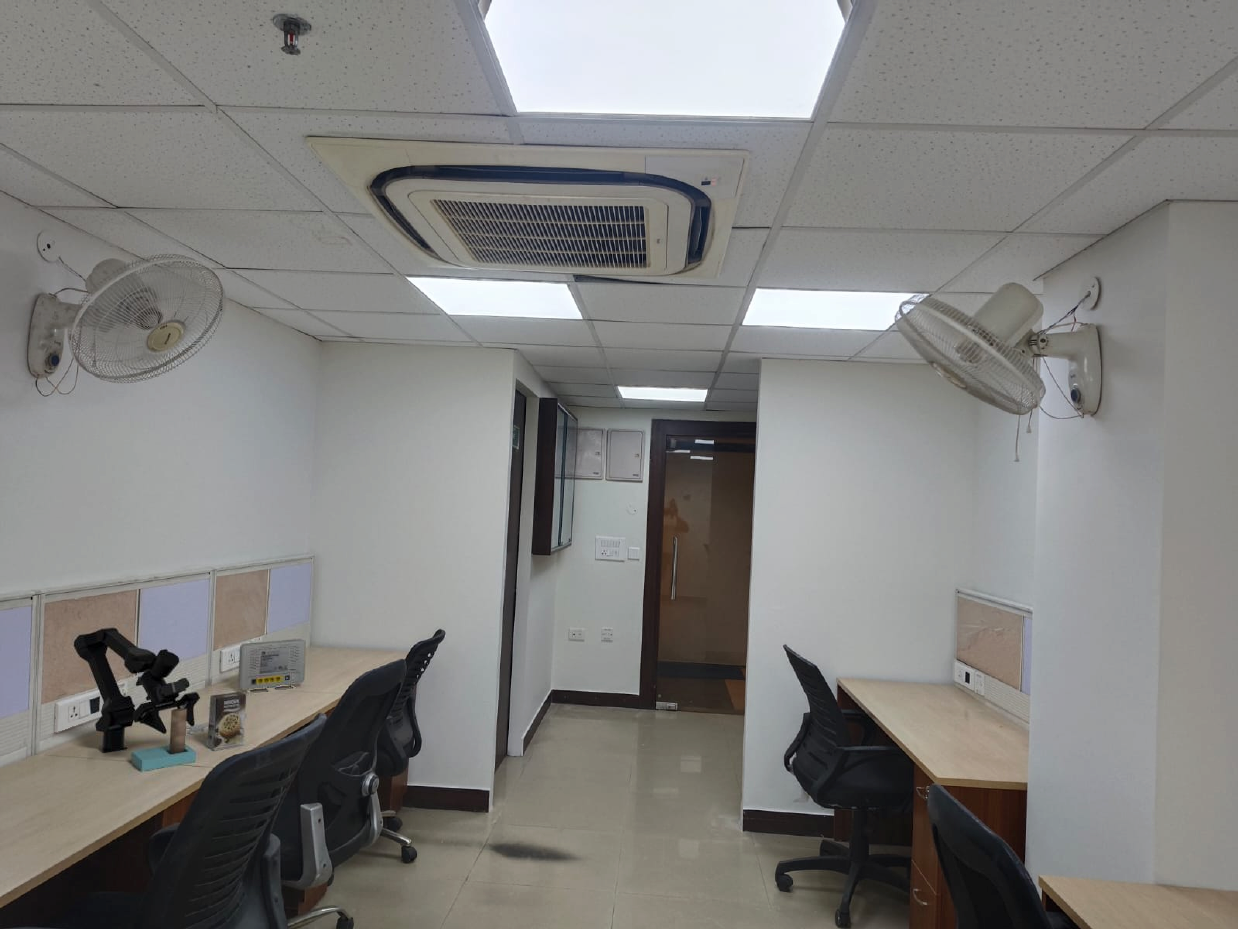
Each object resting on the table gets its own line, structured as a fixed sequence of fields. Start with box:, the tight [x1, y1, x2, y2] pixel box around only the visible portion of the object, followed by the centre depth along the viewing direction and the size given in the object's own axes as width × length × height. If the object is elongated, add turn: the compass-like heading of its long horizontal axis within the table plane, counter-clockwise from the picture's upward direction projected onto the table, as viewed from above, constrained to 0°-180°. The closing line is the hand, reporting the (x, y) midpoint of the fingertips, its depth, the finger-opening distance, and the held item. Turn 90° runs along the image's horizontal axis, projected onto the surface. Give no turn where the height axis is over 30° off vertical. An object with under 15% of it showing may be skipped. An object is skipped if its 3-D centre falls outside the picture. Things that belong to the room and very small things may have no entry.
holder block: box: [130, 743, 197, 772], centre depth 235 cm, size 12×14×3 cm
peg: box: [169, 708, 187, 755], centre depth 236 cm, size 4×4×15 cm
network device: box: [237, 638, 307, 691], centre depth 332 cm, size 26×9×20 cm, turn 130°
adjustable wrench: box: [186, 713, 247, 733], centre depth 276 cm, size 25×6×2 cm, turn 150°
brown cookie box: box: [206, 691, 247, 751], centre depth 252 cm, size 9×6×16 cm
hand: (179, 729), depth 236 cm, fingers open, 9 cm apart
